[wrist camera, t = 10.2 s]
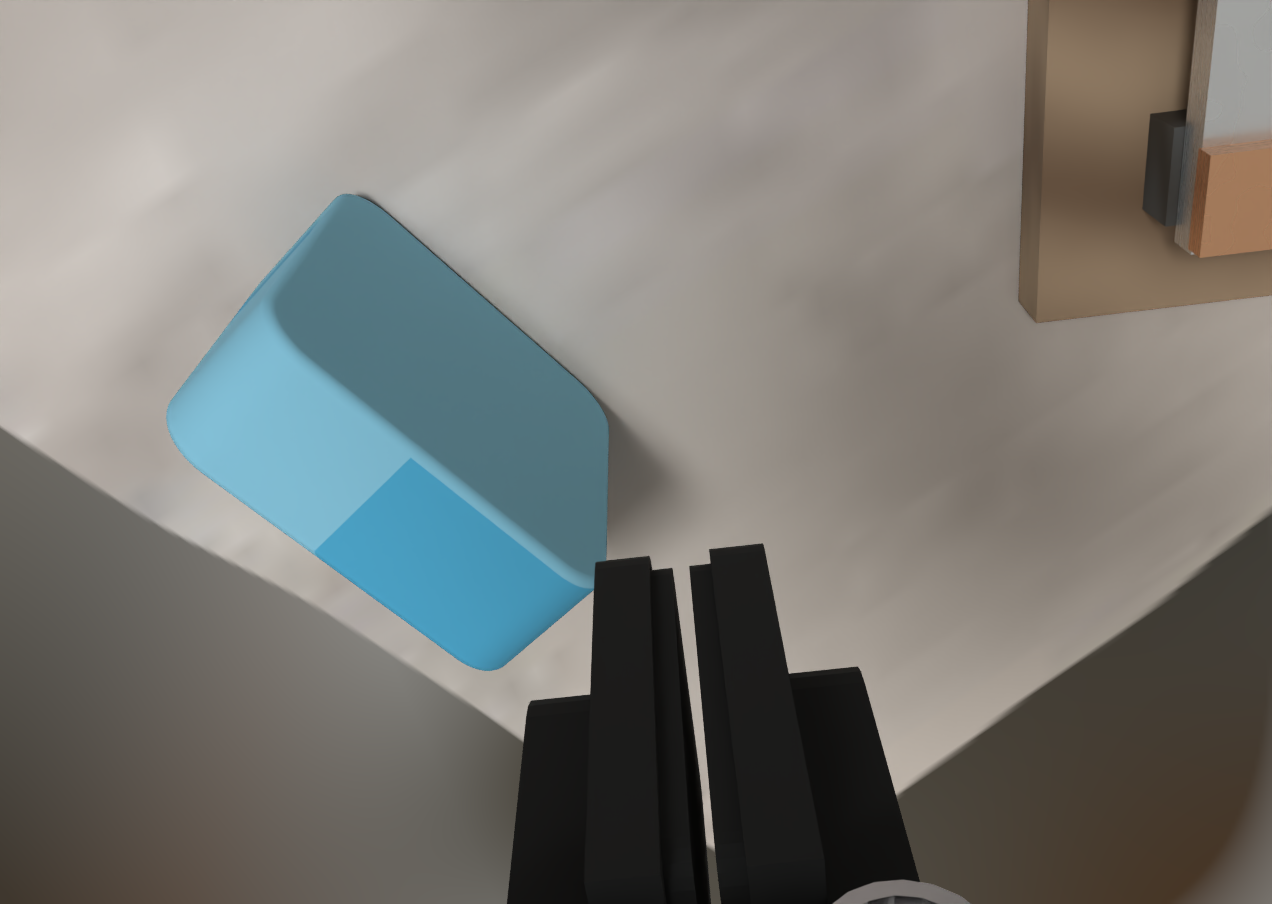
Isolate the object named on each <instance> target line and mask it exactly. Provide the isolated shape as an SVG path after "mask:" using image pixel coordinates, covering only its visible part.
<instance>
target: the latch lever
mask: <svg viewBox="0 0 1272 904" xmlns="http://www.w3.org/2000/svg"><path fill="white" fill-rule="evenodd" d="M1174 242H1175V243H1177V244H1178V245H1179V246H1180V247H1182V248H1183V249H1184V250H1185V251H1187V252H1188V253H1189V254H1190V255H1194V254H1195V255H1196V256H1198V257H1199V258H1204V257H1212V256H1220V255H1229V254H1237V253H1245V252H1254V251H1262V250H1270V249H1272V0H1198V6H1197V16H1196V26H1195V36H1194V46H1193V57H1192V67H1191V77H1190V87H1189V97H1188V107H1187V117H1186V127H1185V137H1184V148H1183V158H1182V168H1181V178H1180V188H1179V198H1178V208H1177V218H1176V228H1175V238H1174Z"/></svg>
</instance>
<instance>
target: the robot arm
mask: <svg viewBox="0 0 1272 904" xmlns="http://www.w3.org/2000/svg"><path fill="white" fill-rule="evenodd" d="M709 552H710V561H711V564H704V565H695V566H690V579H691V590H692V601H693V612H694V623H695V634H696V645H697V656H698V667H699V678H700V689H701V700H702V711H703V722H704V733H705V744H706V755H707V767H708V778H709V789H710V800H711V811H712V822H713V833H714V843H715V853H716V863H717V872H718V881H719V889H720V897H721V904H970V903H969V902H968V901H966V900H965V899H964V898H962V897H961V896H959V895H957V894H954V893H952V892H950V891H947V890H945V889H942V888H940V887H938V886H936V885H933V884H927V883H921V882H920V881H919V877H918V873H917V870H916V866H915V863H914V860H913V855H912V852H911V848H910V845H909V841H908V837H907V834H906V830H905V827H904V823H903V819H902V816H901V813H900V809H899V805H898V801H897V798H896V794H895V791H894V787H893V783H892V780H891V776H890V773H889V769H888V765H887V762H886V758H885V755H884V751H883V747H882V744H881V740H880V737H879V733H878V729H877V726H876V722H875V719H874V715H873V711H872V708H871V704H870V701H869V697H868V693H867V690H866V686H865V683H864V680H863V677H862V674H861V671H860V669H859V668H858V667H849V668H840V669H830V670H821V671H811V672H802V673H792V674H789V673H788V668H787V663H786V658H785V652H784V647H783V642H782V637H781V632H780V627H779V621H778V616H777V611H776V606H775V601H774V596H773V590H772V585H771V580H770V575H769V570H768V565H767V559H766V554H765V549H764V545H763V544H754V545H745V546H735V547H726V548H717V549H709ZM507 904H711V898H710V886H709V874H708V861H707V850H706V837H705V825H704V813H703V801H702V791H701V782H700V773H699V765H698V758H697V750H696V742H695V735H694V727H693V720H692V712H691V704H690V697H689V689H688V682H687V674H686V666H685V659H684V651H683V644H682V636H681V629H680V621H679V613H678V606H677V598H676V591H675V583H674V576H673V570H672V568H668V569H659V570H652V566H651V560H650V557H649V556H645V557H636V558H627V559H617V560H608V561H599V562H596V563H595V574H594V604H593V633H592V663H591V692H590V695H582V696H572V697H563V698H553V699H544V700H534V701H531V702H530V704H529V705H528V710H527V716H526V725H525V735H524V744H523V754H522V764H521V774H520V783H519V793H518V803H517V812H516V822H515V831H514V841H513V851H512V860H511V870H510V881H509V890H508V899H507Z"/></svg>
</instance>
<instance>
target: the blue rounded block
mask: <svg viewBox="0 0 1272 904" xmlns="http://www.w3.org/2000/svg"><path fill="white" fill-rule="evenodd" d="M166 419H167V426H168V430H169V433H170V435H171V437H172V439H173V441H174V443H175V445H176V446H177V448H178V449H179V451H180V452H181V453H182V454H183V456H184V457H185V458H186V459H187V460H188V461H189V462H190V463H191V464H192V465H193V466H194V467H195V468H196V469H198V470H199V471H200V472H201V473H203V474H204V475H205V476H207V477H208V478H210V479H211V480H212V481H214V482H215V483H216V484H218V485H219V486H221V487H222V488H223V489H225V490H226V491H227V492H229V493H230V494H232V495H233V496H234V497H236V498H237V499H238V500H240V501H241V502H242V503H244V504H245V505H247V506H248V507H249V508H251V509H252V510H253V511H255V512H256V513H258V514H259V515H260V516H262V517H263V518H264V519H266V520H267V521H269V522H270V523H271V524H273V525H274V526H275V527H277V528H278V529H280V530H281V531H282V532H284V533H285V534H286V535H288V536H289V537H290V538H292V539H293V540H295V541H296V542H297V543H299V544H300V545H301V546H303V547H304V548H306V549H307V550H308V551H310V552H311V553H312V554H314V555H315V556H317V557H318V558H319V559H321V560H322V561H323V562H325V563H326V564H327V565H329V566H330V567H332V568H333V569H334V570H336V571H337V572H338V573H340V574H341V575H343V576H344V577H345V578H347V579H348V580H349V581H351V582H352V583H354V584H355V585H356V586H358V587H359V588H360V589H362V590H363V591H364V592H366V593H367V594H369V595H370V596H371V597H373V598H374V599H375V600H377V601H378V602H380V603H381V604H382V605H384V606H385V607H386V608H388V609H389V610H391V611H392V612H393V613H395V614H396V615H397V616H399V617H400V618H402V619H403V620H404V621H406V622H407V623H408V624H410V625H411V626H412V627H414V628H415V629H417V630H418V631H419V632H421V633H422V634H423V635H425V636H426V637H428V638H429V639H430V640H432V641H433V642H434V643H436V644H437V645H439V646H440V647H441V648H443V649H444V650H445V651H447V652H448V653H449V654H451V655H452V656H454V657H455V658H456V659H458V660H459V661H461V662H462V663H464V664H466V665H468V666H470V667H472V668H475V669H479V670H484V671H492V670H497V669H499V668H501V667H503V666H504V665H506V664H507V663H508V662H509V661H510V660H512V659H513V658H514V657H515V656H516V655H518V654H519V653H520V652H521V651H522V650H523V649H525V648H526V647H527V646H528V645H529V644H530V643H532V642H533V641H534V640H535V639H536V638H538V637H539V636H540V635H541V634H542V633H543V632H545V631H546V630H547V629H548V628H549V627H551V626H552V625H553V624H554V623H555V622H556V621H558V620H559V619H560V618H561V617H562V616H564V615H565V614H566V613H567V612H568V611H569V610H571V609H572V608H573V607H574V606H575V605H576V604H578V603H579V602H580V601H581V600H582V599H584V598H585V597H586V596H587V595H588V594H589V593H591V592H592V591H593V590H594V574H595V563H596V562H599V561H606V550H607V499H608V447H609V426H608V422H607V419H606V416H605V414H604V412H603V410H602V409H601V407H600V405H599V404H598V402H597V401H596V400H595V398H594V397H593V396H592V395H591V393H590V392H589V391H588V390H587V389H586V388H585V387H584V386H583V385H582V384H581V383H580V382H579V381H578V380H577V379H575V378H574V377H573V376H572V375H571V374H570V373H569V372H567V371H566V370H565V369H564V368H563V367H562V366H561V365H559V364H558V363H557V362H556V361H555V360H554V359H553V358H551V357H550V356H549V355H548V354H547V353H546V352H545V351H543V350H542V349H541V348H540V347H539V346H538V345H537V344H535V343H534V342H533V341H532V340H531V339H530V338H529V337H527V336H526V335H525V334H524V333H523V332H522V331H521V330H519V329H518V328H517V327H516V326H515V325H514V324H513V323H511V322H510V321H509V320H508V319H507V318H506V317H505V316H503V315H502V314H501V313H500V312H499V311H498V310H497V309H496V308H494V307H493V306H492V305H491V304H490V303H489V302H488V301H486V300H485V299H484V298H483V297H482V296H481V295H480V294H478V293H477V292H476V291H475V290H474V289H473V288H472V287H470V286H469V285H468V284H467V283H466V282H465V281H464V280H462V279H461V278H460V277H459V276H458V275H457V274H456V273H454V272H453V271H452V270H451V269H450V268H449V267H448V266H446V265H445V264H444V263H443V262H442V261H441V260H440V259H438V258H437V257H436V256H435V255H434V254H433V253H432V252H430V251H429V250H428V249H427V248H426V247H425V246H424V245H422V244H421V243H420V242H419V241H418V240H417V239H416V238H414V237H413V236H412V235H411V234H410V233H409V232H408V231H406V230H405V229H404V228H403V227H402V226H401V225H400V224H398V223H397V222H396V221H395V220H394V219H393V218H392V217H390V216H389V215H388V214H387V213H386V212H385V211H383V210H382V209H381V208H379V207H378V206H376V205H375V204H373V203H372V202H370V201H368V200H366V199H364V198H362V197H359V196H356V195H352V194H343V195H340V196H338V197H336V198H335V199H334V200H333V201H332V203H331V204H330V205H329V206H328V207H327V208H326V209H325V210H324V212H323V213H322V214H321V215H320V216H319V217H318V218H317V219H316V221H315V222H314V223H313V224H312V225H311V226H310V227H309V228H308V230H307V231H306V232H305V233H304V234H303V235H302V236H301V237H300V239H299V240H298V241H297V242H296V243H295V244H294V245H293V246H292V248H291V249H290V250H289V251H288V252H287V253H286V254H285V255H284V257H283V258H282V259H281V260H280V261H279V262H278V263H277V264H276V266H275V267H274V268H273V269H272V270H271V271H270V272H269V273H268V275H267V276H266V277H265V278H264V279H263V280H262V281H261V282H260V284H259V285H258V286H257V287H256V289H255V290H254V291H253V293H252V294H251V295H250V297H249V298H248V299H247V301H246V302H245V303H244V305H243V306H242V307H241V309H240V310H239V311H238V313H237V314H236V315H235V317H234V318H233V319H232V321H231V322H230V323H229V325H228V326H227V327H226V329H225V330H224V331H223V332H222V334H221V335H220V336H219V338H218V339H217V340H216V342H215V343H214V344H213V346H212V347H211V348H210V350H209V351H208V352H207V354H206V355H205V356H204V358H203V359H202V360H201V362H200V363H199V364H198V366H197V367H196V368H195V370H194V371H193V372H192V373H191V375H190V376H189V377H188V379H187V380H186V381H185V383H184V384H183V385H182V387H181V388H180V389H179V391H178V392H177V393H176V395H175V396H174V397H173V399H172V400H171V402H170V403H169V406H168V409H167V416H166Z"/></svg>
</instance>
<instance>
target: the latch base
mask: <svg viewBox="0 0 1272 904" xmlns="http://www.w3.org/2000/svg"><path fill="white" fill-rule="evenodd" d="M1197 6H1198V0H1028V25H1027V56H1026V87H1025V117H1024V148H1023V179H1022V209H1021V240H1020V271H1019V302H1020V303H1021V305H1022V306H1023V307H1024V308H1025V310H1026V311H1027V312H1028V313H1029V315H1030V316H1031V317H1032V318H1033V320H1034V321H1035V322H1036V323H1040V322H1049V321H1057V320H1066V319H1074V318H1083V317H1091V316H1100V315H1108V314H1116V313H1125V312H1133V311H1142V310H1150V309H1159V308H1167V307H1176V306H1184V305H1193V304H1201V303H1210V302H1218V301H1227V300H1235V299H1244V298H1252V297H1261V296H1269V295H1272V249H1270V250H1262V251H1254V252H1245V253H1237V254H1229V255H1220V256H1212V257H1204V258H1199V257H1198V256H1196V255H1195V254H1194V255H1190V254H1189V253H1188V252H1187V251H1185V250H1184V249H1183V248H1182V247H1180V246H1179V245H1178V244H1177V243H1175V242H1174V238H1175V228H1176V218H1177V208H1178V198H1179V188H1180V178H1181V168H1182V158H1183V148H1184V137H1185V127H1186V117H1187V107H1188V97H1189V87H1190V77H1191V67H1192V57H1193V46H1194V36H1195V26H1196V16H1197Z"/></svg>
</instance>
